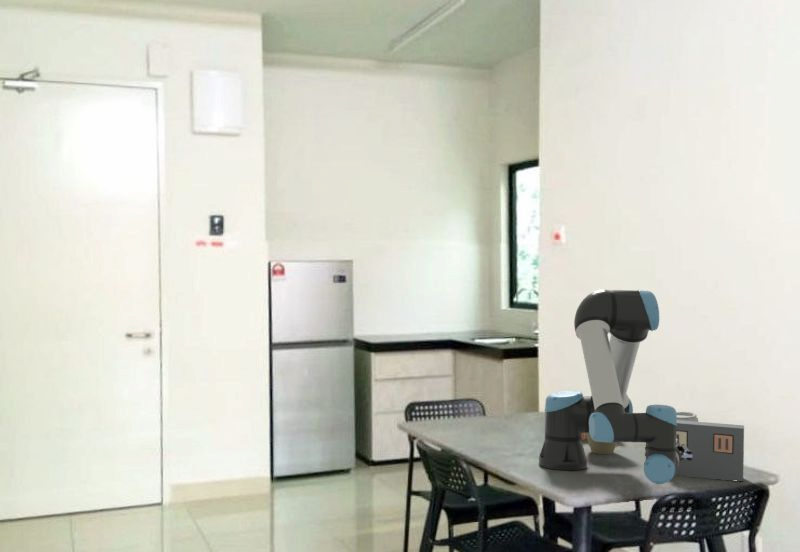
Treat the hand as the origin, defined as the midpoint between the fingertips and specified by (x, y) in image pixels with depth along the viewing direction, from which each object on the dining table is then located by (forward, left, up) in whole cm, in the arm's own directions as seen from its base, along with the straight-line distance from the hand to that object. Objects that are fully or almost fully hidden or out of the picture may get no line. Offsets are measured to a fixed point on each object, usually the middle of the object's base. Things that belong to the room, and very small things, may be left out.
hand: (674, 443), depth 245 cm
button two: (+13, -10, -3) cm, 17 cm away
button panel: (+14, -3, -12) cm, 18 cm away
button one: (+10, +3, -3) cm, 11 cm away
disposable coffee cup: (+35, +11, -12) cm, 38 cm away
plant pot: (+25, +35, -12) cm, 44 cm away
